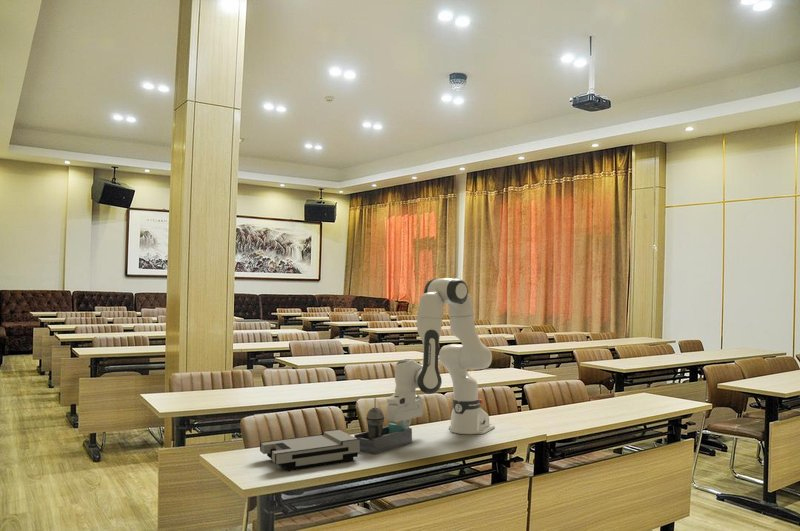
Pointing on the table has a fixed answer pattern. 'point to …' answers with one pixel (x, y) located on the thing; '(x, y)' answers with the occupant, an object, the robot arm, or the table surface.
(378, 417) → the beverage cup
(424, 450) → the table surface
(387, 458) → the table surface
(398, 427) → the pusher
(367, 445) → the grey open box
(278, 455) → the game console
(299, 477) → the table surface
